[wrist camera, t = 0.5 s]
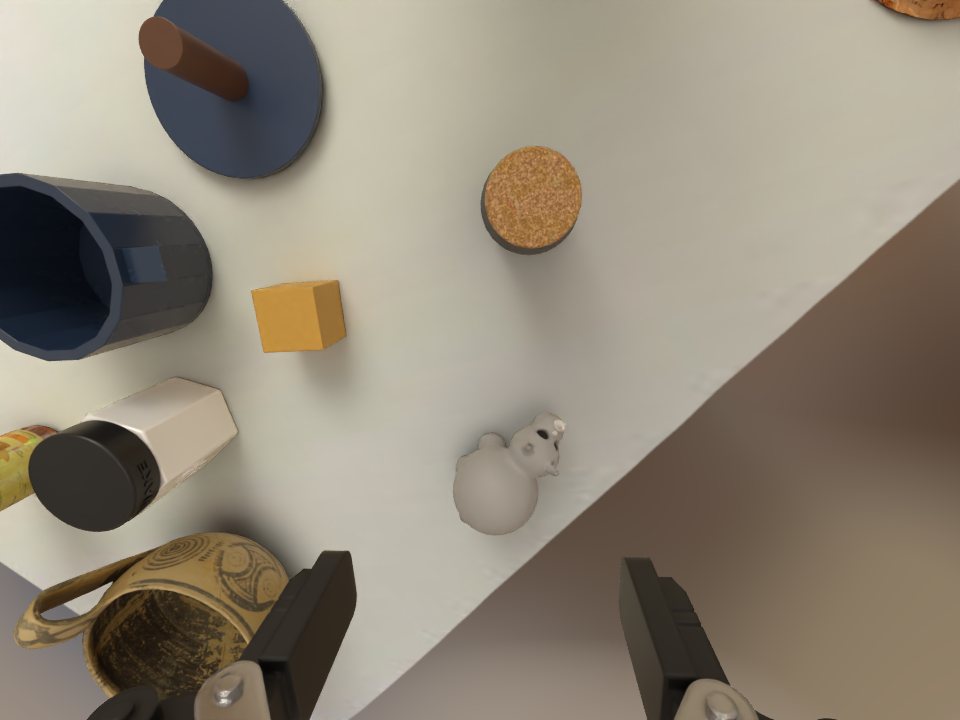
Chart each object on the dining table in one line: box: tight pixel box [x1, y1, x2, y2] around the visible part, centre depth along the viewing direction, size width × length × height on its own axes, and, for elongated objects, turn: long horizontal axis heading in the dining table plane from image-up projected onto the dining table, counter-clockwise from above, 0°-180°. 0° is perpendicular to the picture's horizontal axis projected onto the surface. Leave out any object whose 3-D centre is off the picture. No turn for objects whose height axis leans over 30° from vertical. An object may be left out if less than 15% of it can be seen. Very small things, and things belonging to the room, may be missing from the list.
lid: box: [139, 0, 322, 179], centre depth 31 cm, size 14×14×8 cm
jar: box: [28, 377, 238, 532], centre depth 38 cm, size 9×8×12 cm
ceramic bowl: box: [14, 533, 289, 700], centre depth 41 cm, size 22×17×15 cm
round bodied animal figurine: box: [453, 413, 566, 535], centre depth 38 cm, size 7×12×8 cm, turn 137°
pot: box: [0, 173, 212, 361], centre depth 35 cm, size 13×18×10 cm
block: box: [251, 280, 346, 353], centre depth 37 cm, size 5×5×5 cm
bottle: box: [481, 146, 582, 255], centre depth 29 cm, size 6×6×15 cm
